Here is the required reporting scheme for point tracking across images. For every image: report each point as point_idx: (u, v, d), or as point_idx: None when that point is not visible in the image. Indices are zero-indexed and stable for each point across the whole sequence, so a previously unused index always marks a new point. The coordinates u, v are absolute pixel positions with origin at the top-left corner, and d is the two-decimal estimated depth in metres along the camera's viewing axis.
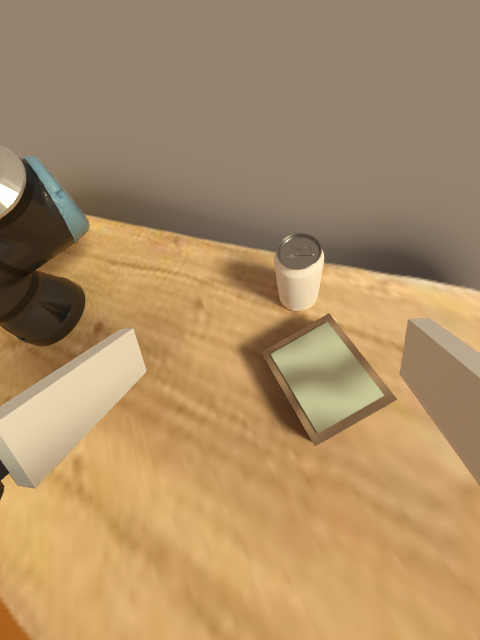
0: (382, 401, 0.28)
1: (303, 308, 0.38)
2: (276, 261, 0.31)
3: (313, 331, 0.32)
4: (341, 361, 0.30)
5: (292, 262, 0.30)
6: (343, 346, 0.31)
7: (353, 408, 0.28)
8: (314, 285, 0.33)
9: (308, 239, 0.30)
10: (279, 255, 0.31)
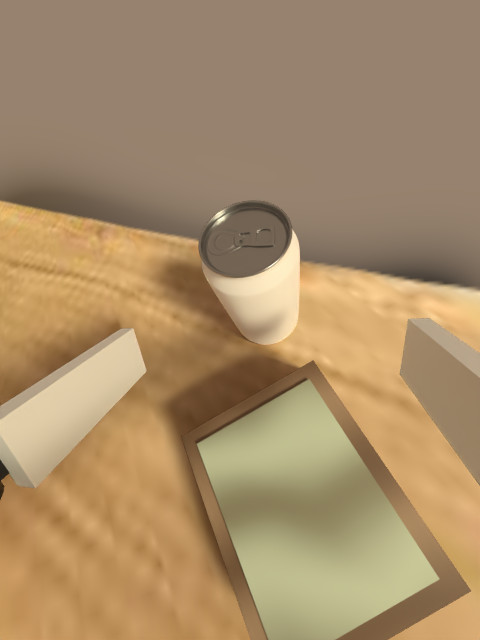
0: (435, 591, 0.12)
1: (272, 341, 0.22)
2: (202, 260, 0.15)
3: (281, 399, 0.16)
4: (337, 474, 0.14)
5: (229, 261, 0.14)
6: (341, 437, 0.15)
7: (365, 607, 0.12)
8: (285, 307, 0.17)
9: (266, 213, 0.14)
10: (205, 247, 0.15)
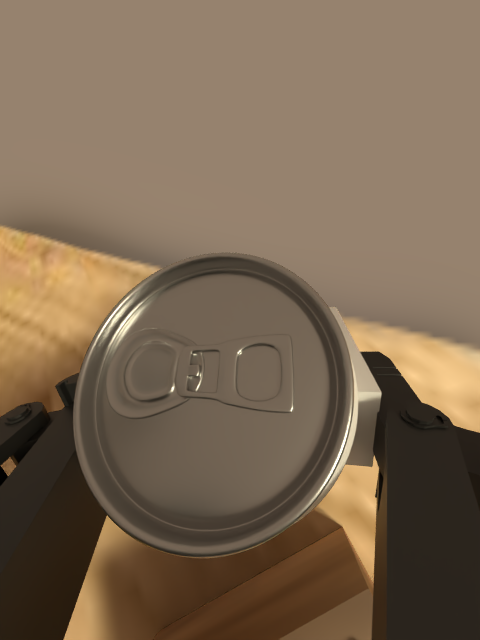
0: None
1: None
2: None
3: None
4: None
5: (154, 451, 0.04)
6: None
7: None
8: None
9: (267, 290, 0.05)
10: (102, 381, 0.05)
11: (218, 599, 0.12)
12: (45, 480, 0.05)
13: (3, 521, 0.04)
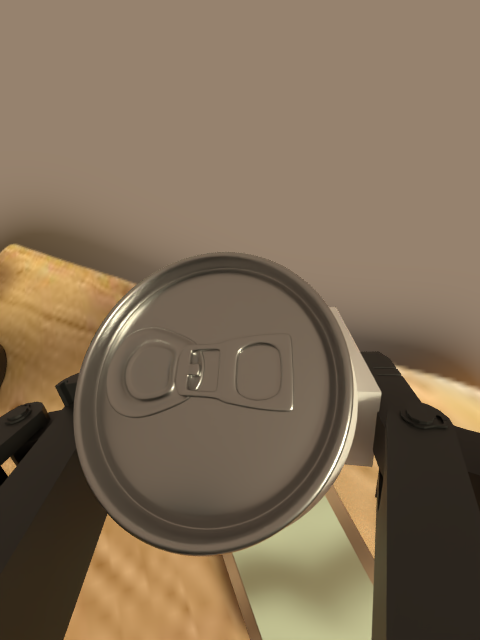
0: None
1: None
2: None
3: None
4: (331, 555, 0.18)
5: (154, 450, 0.04)
6: (335, 524, 0.19)
7: None
8: None
9: (267, 289, 0.05)
10: (103, 380, 0.05)
11: None
12: (45, 480, 0.05)
13: (3, 521, 0.04)
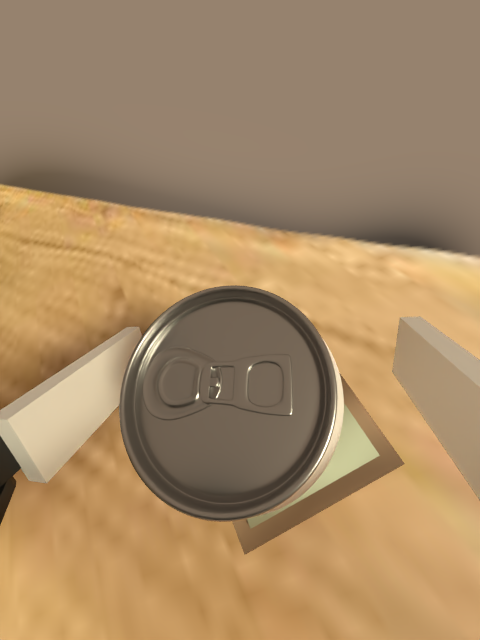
0: (376, 466, 0.14)
1: None
2: None
3: None
4: None
5: (184, 445, 0.06)
6: None
7: (320, 479, 0.14)
8: None
9: (272, 317, 0.07)
10: (139, 389, 0.07)
11: None
12: None
13: None
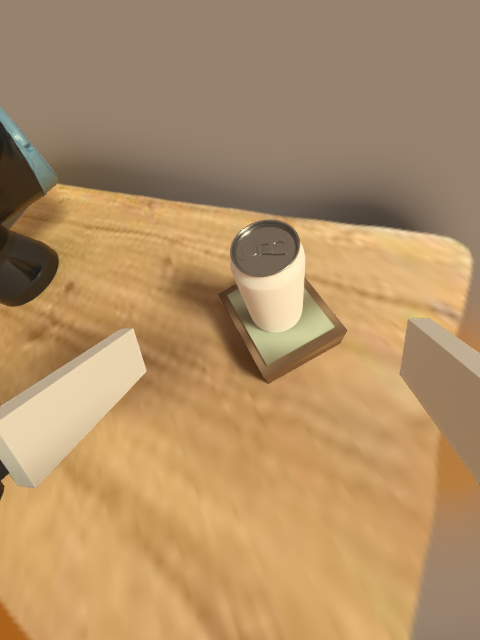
0: (333, 332, 0.27)
1: (281, 329, 0.27)
2: (231, 263, 0.20)
3: None
4: None
5: (253, 265, 0.19)
6: None
7: (303, 340, 0.27)
8: (292, 300, 0.22)
9: (280, 229, 0.20)
10: (235, 254, 0.20)
11: None
12: None
13: None
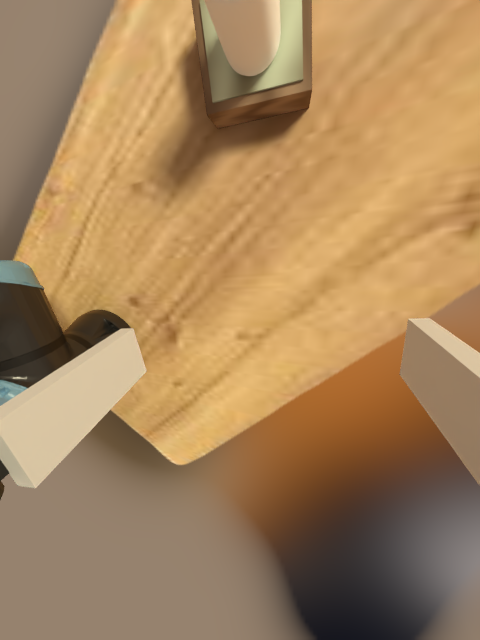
0: None
1: (279, 36, 0.25)
2: None
3: (205, 28, 0.27)
4: None
5: None
6: None
7: (298, 18, 0.25)
8: None
9: None
10: None
11: None
12: None
13: None
